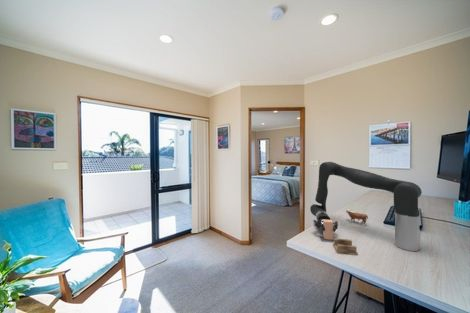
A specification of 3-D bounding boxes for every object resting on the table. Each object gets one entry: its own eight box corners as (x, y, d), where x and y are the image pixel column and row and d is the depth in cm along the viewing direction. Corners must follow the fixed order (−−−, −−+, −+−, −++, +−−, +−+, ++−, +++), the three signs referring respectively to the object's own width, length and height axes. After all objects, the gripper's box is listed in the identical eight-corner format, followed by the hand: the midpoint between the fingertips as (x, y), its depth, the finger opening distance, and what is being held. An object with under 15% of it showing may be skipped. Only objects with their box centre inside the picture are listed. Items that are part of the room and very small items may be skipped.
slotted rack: (351, 247, 97) (351, 239, 97) (357, 256, 90) (357, 247, 89) (332, 245, 100) (332, 238, 99) (337, 254, 92) (337, 245, 92)
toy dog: (346, 219, 135) (346, 208, 134) (368, 224, 124) (368, 212, 124) (343, 220, 132) (343, 209, 132) (366, 226, 121) (366, 214, 121)
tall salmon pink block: (331, 237, 107) (331, 219, 107) (333, 239, 104) (333, 222, 103) (323, 236, 108) (323, 219, 108) (324, 239, 105) (324, 221, 105)
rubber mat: (333, 236, 109) (333, 236, 109) (337, 243, 101) (337, 243, 101) (319, 235, 111) (319, 235, 111) (321, 242, 103) (321, 241, 103)
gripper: (310, 212, 121) (315, 222, 105) (335, 213, 118) (343, 224, 101) (311, 223, 122) (315, 235, 105) (335, 224, 118) (343, 237, 102)
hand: (329, 229), depth 103 cm, fingers closed on tall salmon pink block, 4 cm apart
